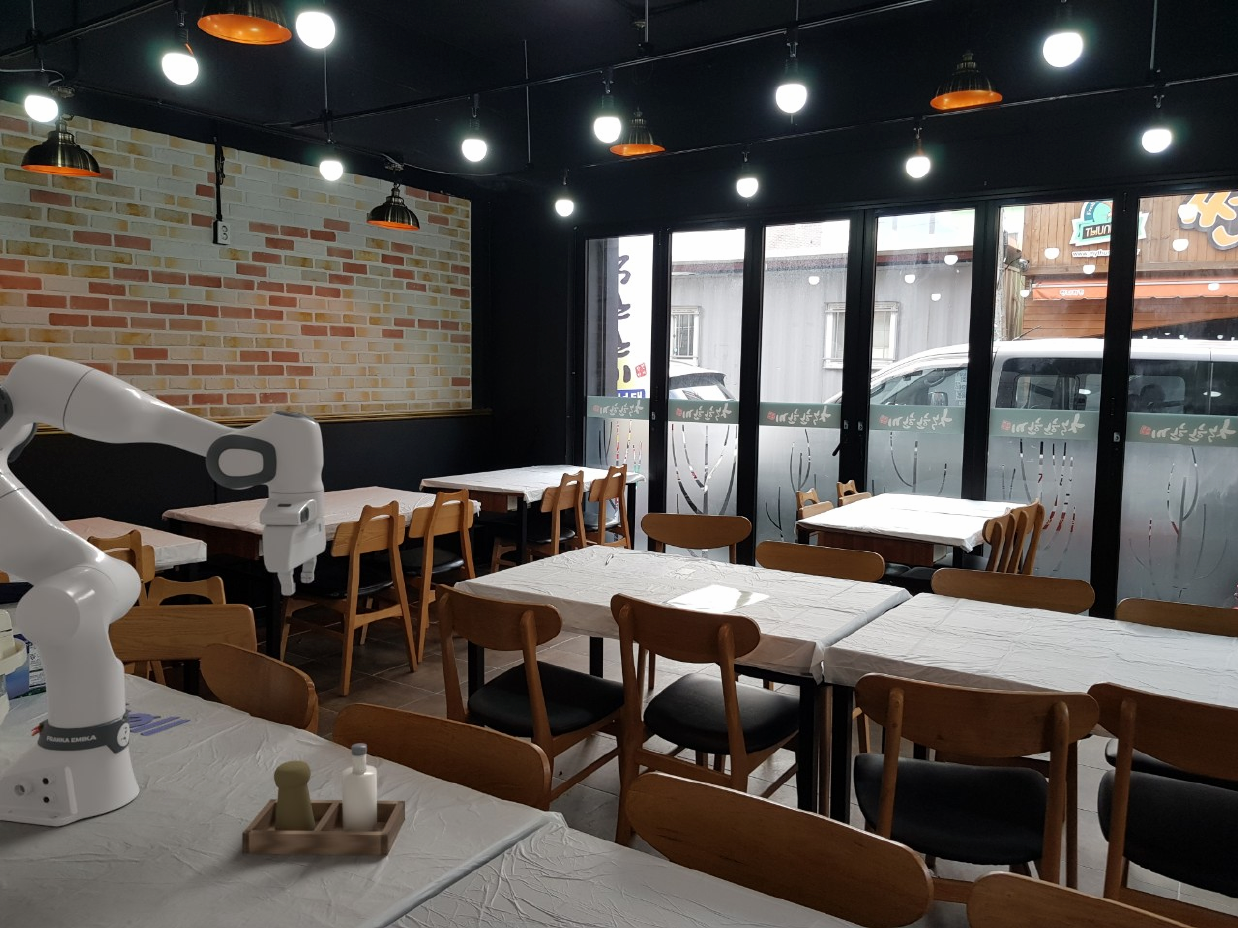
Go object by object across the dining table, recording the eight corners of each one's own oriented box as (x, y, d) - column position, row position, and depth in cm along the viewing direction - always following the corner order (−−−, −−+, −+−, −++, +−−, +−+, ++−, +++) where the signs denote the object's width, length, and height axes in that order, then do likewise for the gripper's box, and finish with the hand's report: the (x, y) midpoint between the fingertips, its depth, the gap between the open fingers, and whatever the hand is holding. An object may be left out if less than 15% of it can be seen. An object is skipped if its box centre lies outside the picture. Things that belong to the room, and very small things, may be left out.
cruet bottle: (338, 843, 137) (337, 752, 135) (348, 827, 142) (347, 739, 140) (372, 844, 137) (371, 752, 135) (381, 828, 142) (380, 739, 140)
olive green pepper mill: (298, 846, 135) (295, 773, 134) (265, 841, 137) (261, 768, 136) (324, 828, 141) (321, 758, 140) (292, 823, 143) (288, 754, 142)
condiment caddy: (242, 859, 134) (242, 833, 133) (271, 823, 145) (270, 799, 144) (387, 861, 134) (387, 834, 133) (405, 825, 145) (404, 800, 144)
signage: (56, 710, 192) (102, 695, 201) (56, 713, 192) (102, 699, 201) (145, 735, 179) (190, 718, 188) (145, 738, 179) (190, 722, 188)
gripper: (299, 499, 166) (300, 575, 167) (254, 515, 146) (256, 601, 147) (334, 500, 166) (335, 575, 167) (294, 516, 146) (296, 602, 147)
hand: (298, 588), depth 157 cm, fingers open, 8 cm apart
